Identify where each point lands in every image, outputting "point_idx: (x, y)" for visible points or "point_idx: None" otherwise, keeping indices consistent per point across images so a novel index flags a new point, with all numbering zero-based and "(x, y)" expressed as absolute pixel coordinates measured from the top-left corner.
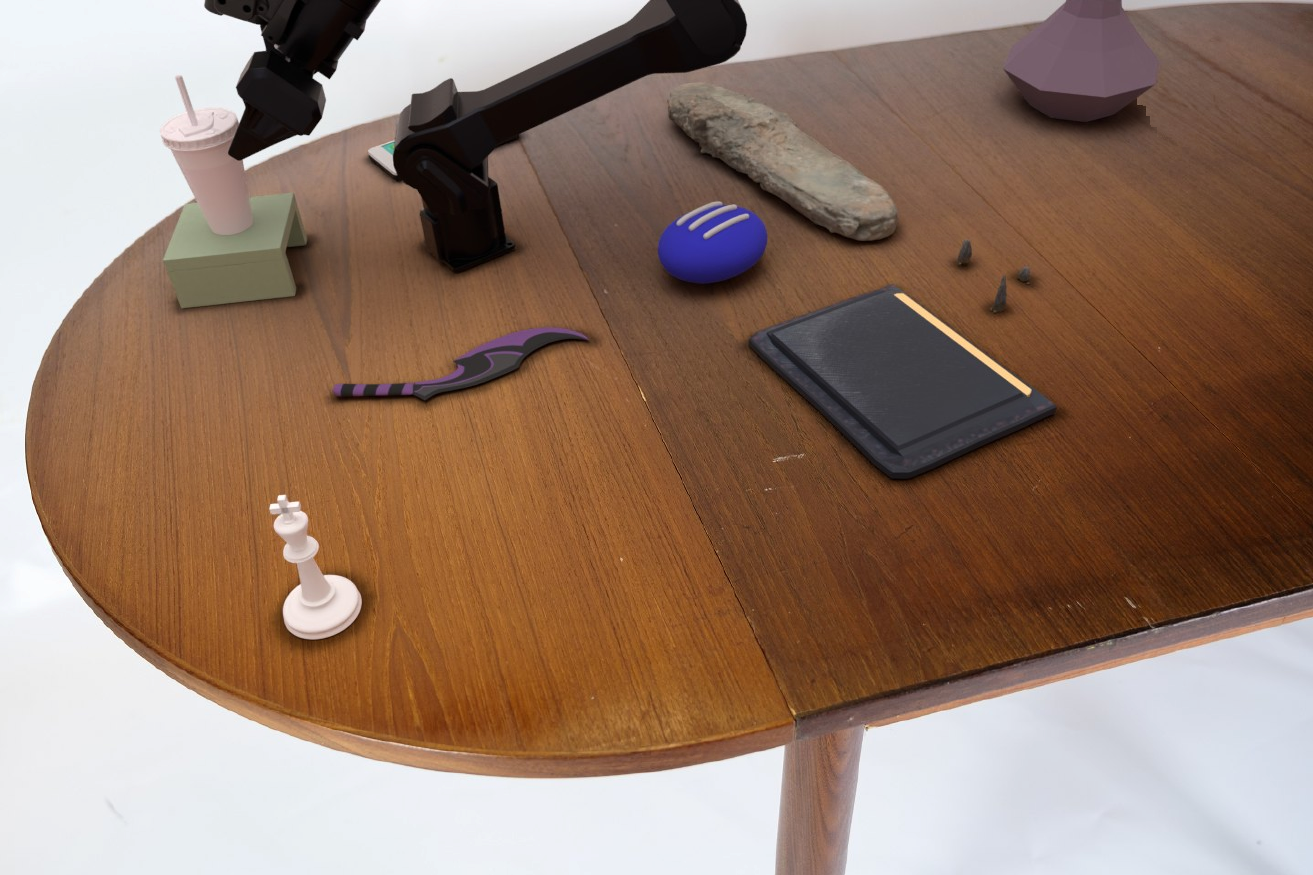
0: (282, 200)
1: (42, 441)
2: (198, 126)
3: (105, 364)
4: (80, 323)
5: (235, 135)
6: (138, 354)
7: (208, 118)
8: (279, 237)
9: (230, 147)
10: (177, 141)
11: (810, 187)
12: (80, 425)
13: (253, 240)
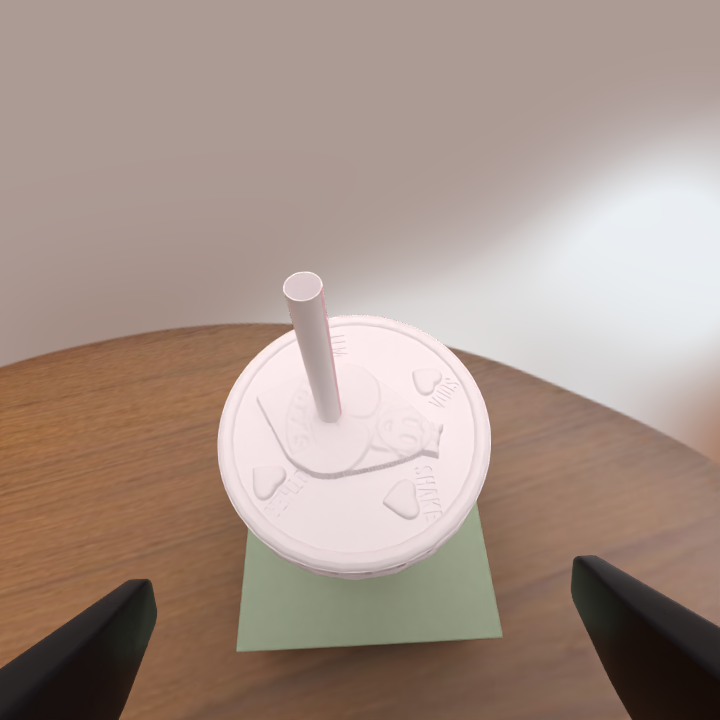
0: (462, 612)
1: (49, 357)
2: (311, 427)
3: (176, 380)
4: (279, 330)
5: (7, 666)
6: (182, 413)
7: (376, 449)
8: (284, 640)
9: (93, 604)
10: (235, 382)
11: None
12: (57, 387)
13: (285, 573)
